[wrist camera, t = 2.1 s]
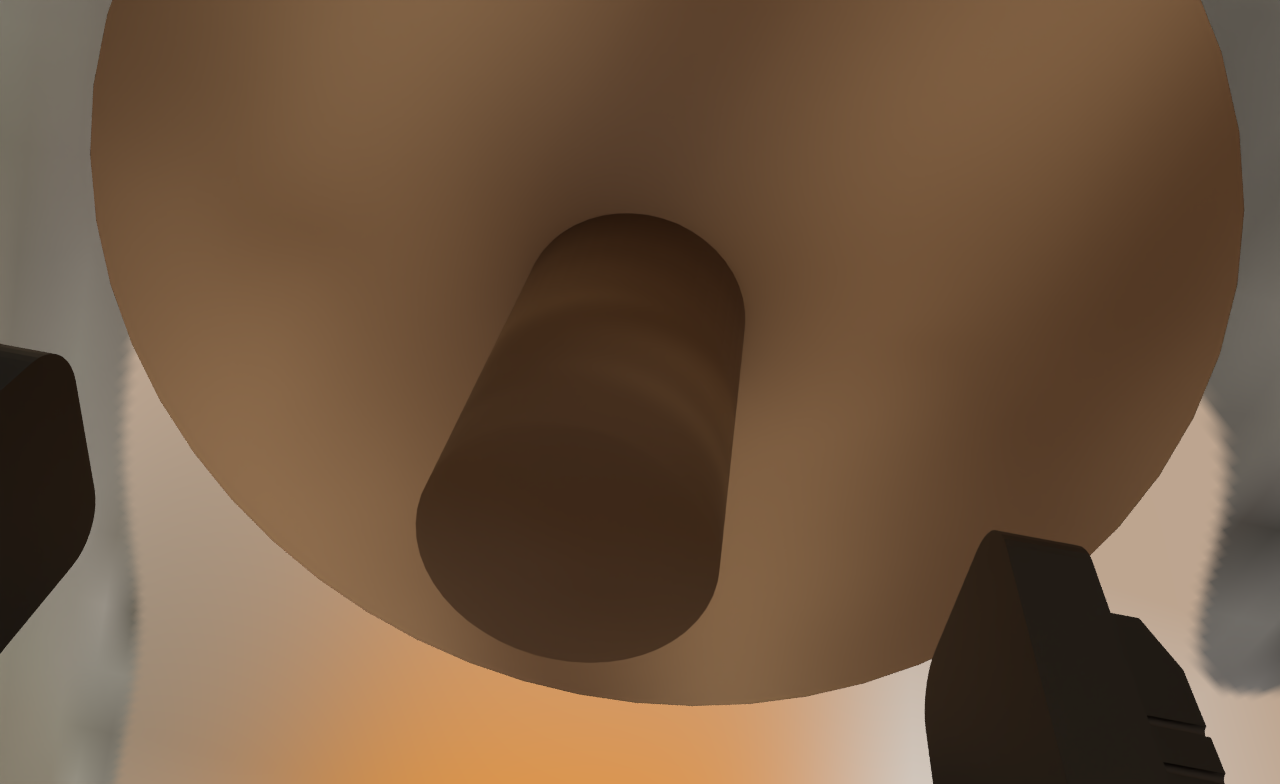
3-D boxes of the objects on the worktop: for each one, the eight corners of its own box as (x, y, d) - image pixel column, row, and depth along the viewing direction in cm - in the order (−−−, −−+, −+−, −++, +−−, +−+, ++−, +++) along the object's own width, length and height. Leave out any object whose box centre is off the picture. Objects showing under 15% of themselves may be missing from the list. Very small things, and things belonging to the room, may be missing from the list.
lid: (1451, -239, 10) (1981, -190, 6) (1001, 718, 18) (1070, 1081, 13) (62, -453, 11) (-507, -572, 6) (193, 563, 19) (-18, 858, 14)
